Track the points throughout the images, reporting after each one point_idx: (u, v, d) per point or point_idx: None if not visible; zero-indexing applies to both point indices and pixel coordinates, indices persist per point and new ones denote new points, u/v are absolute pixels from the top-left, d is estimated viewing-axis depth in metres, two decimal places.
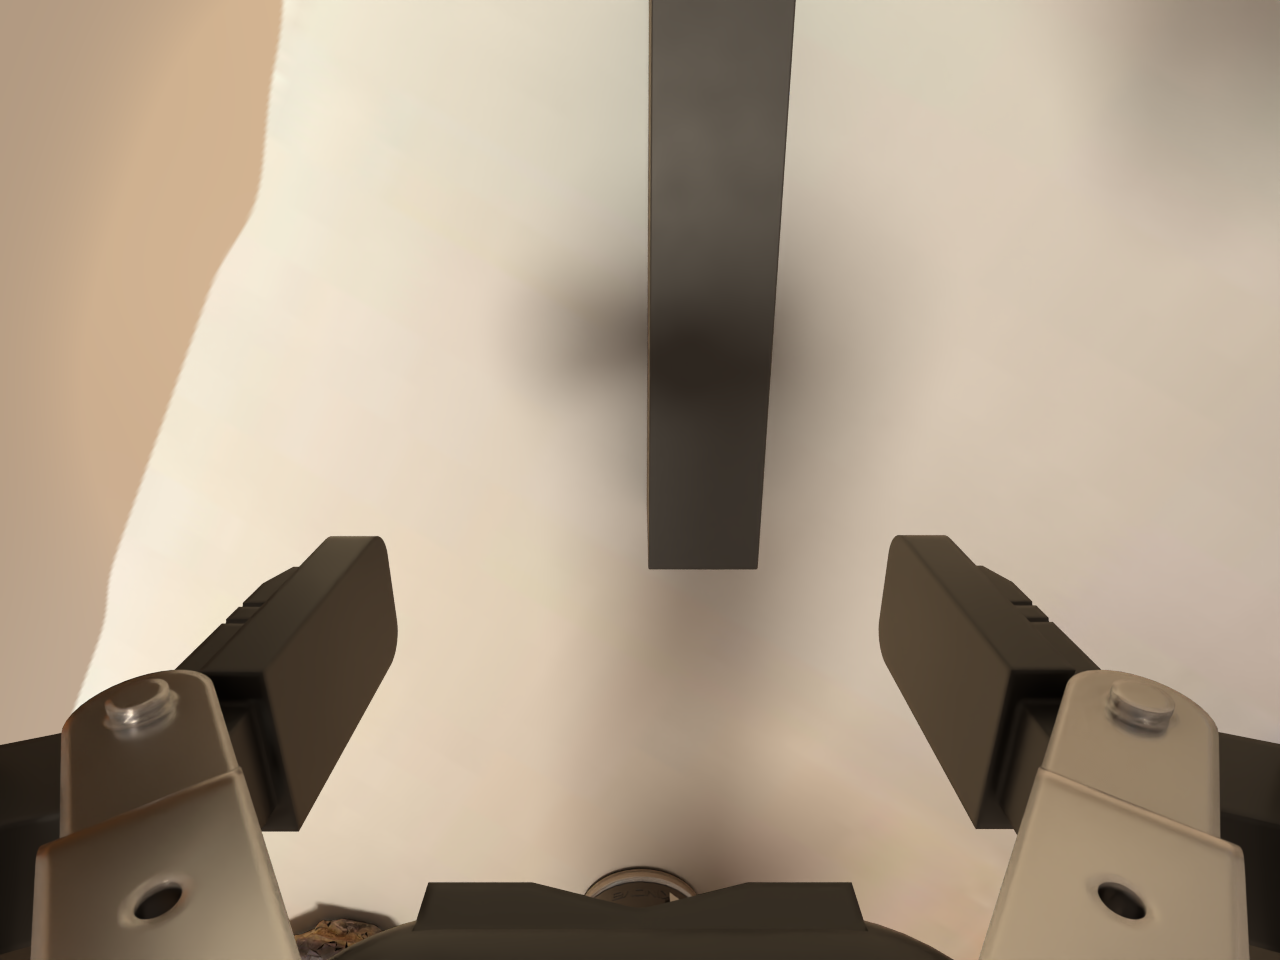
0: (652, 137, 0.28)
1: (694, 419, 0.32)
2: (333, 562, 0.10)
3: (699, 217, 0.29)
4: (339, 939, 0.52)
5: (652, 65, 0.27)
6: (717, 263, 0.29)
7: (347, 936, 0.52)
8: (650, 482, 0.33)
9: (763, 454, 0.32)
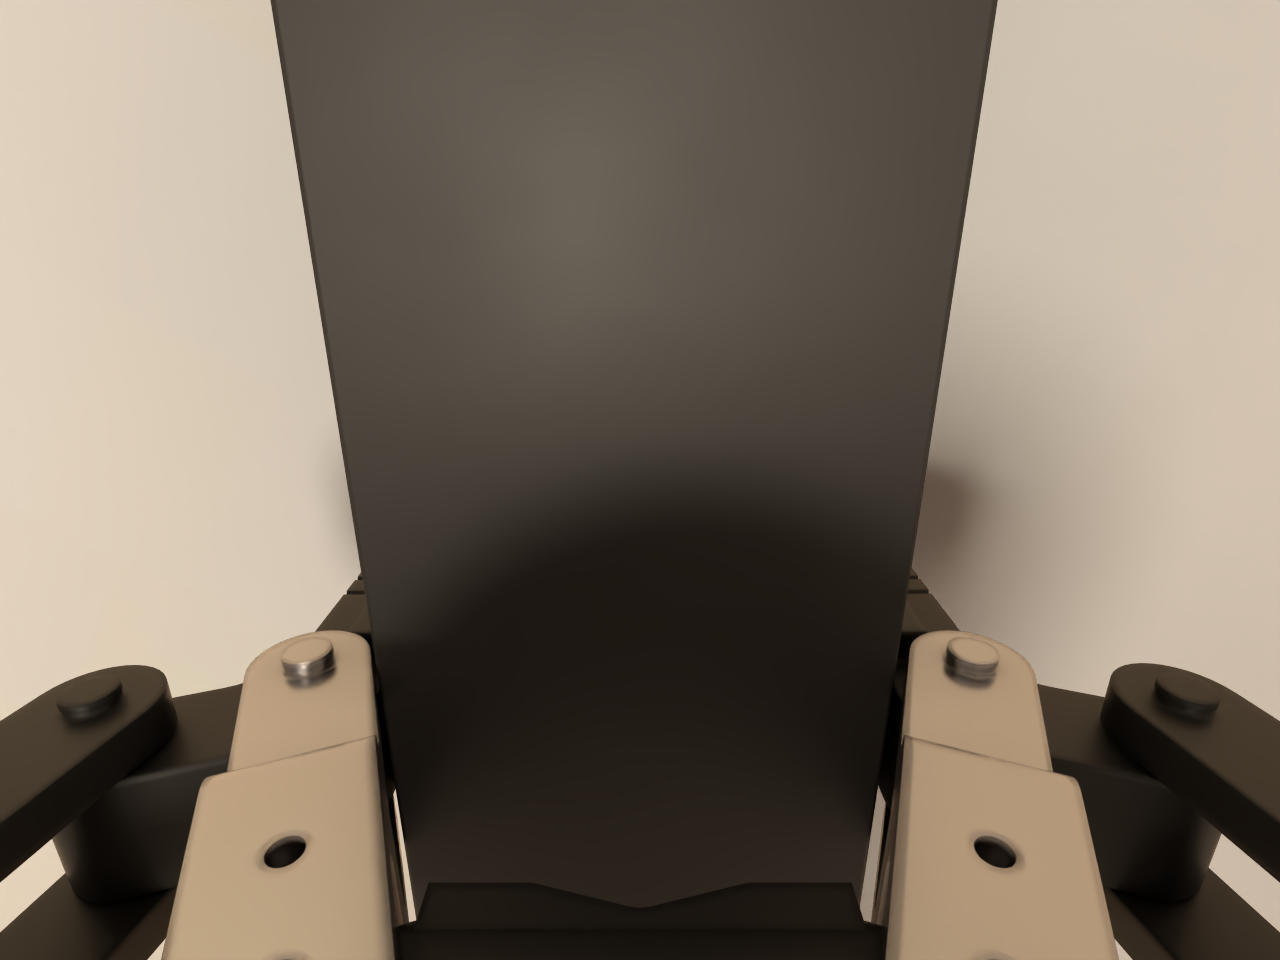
0: None
1: (558, 349, 0.06)
2: None
3: None
4: None
5: None
6: None
7: None
8: (378, 652, 0.07)
9: (910, 527, 0.07)
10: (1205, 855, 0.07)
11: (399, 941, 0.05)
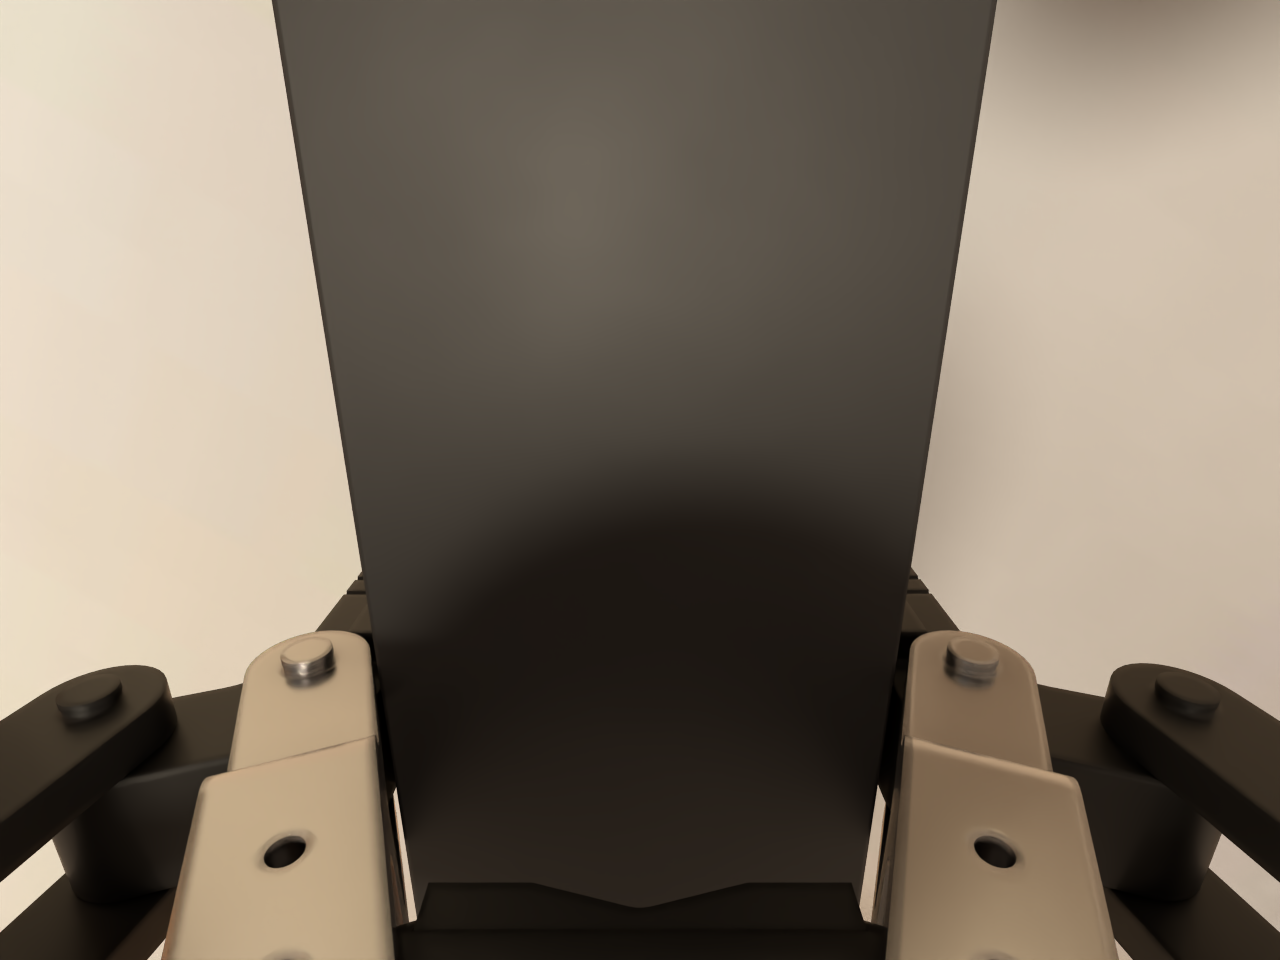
0: None
1: (558, 347, 0.06)
2: None
3: None
4: None
5: None
6: None
7: None
8: (379, 650, 0.07)
9: (910, 525, 0.07)
10: (1206, 855, 0.07)
11: (399, 941, 0.05)
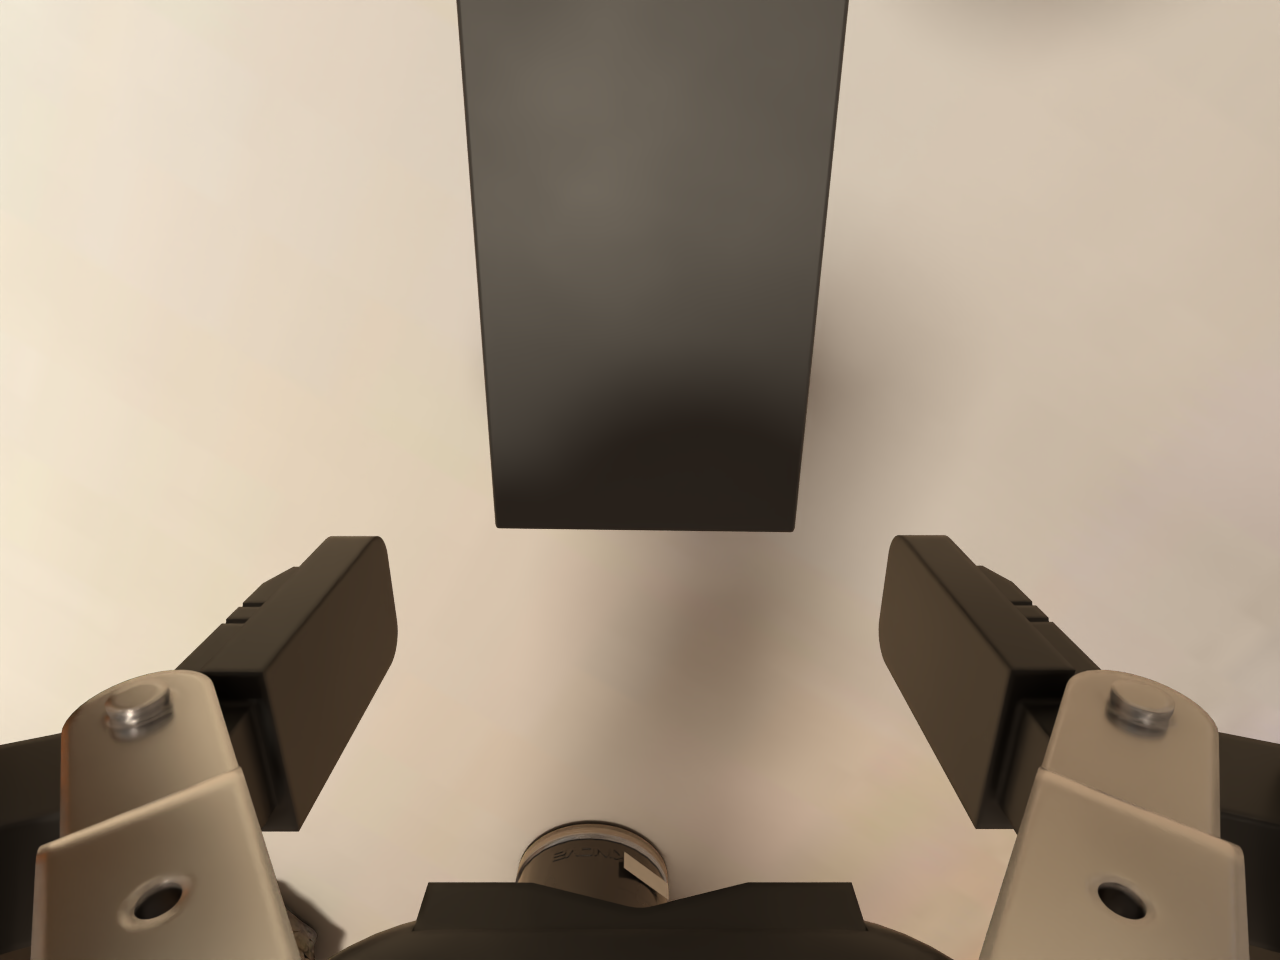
0: None
1: (603, 32, 0.10)
2: (332, 562, 0.10)
3: None
4: None
5: None
6: None
7: None
8: (479, 262, 0.11)
9: (826, 168, 0.10)
10: None
11: None
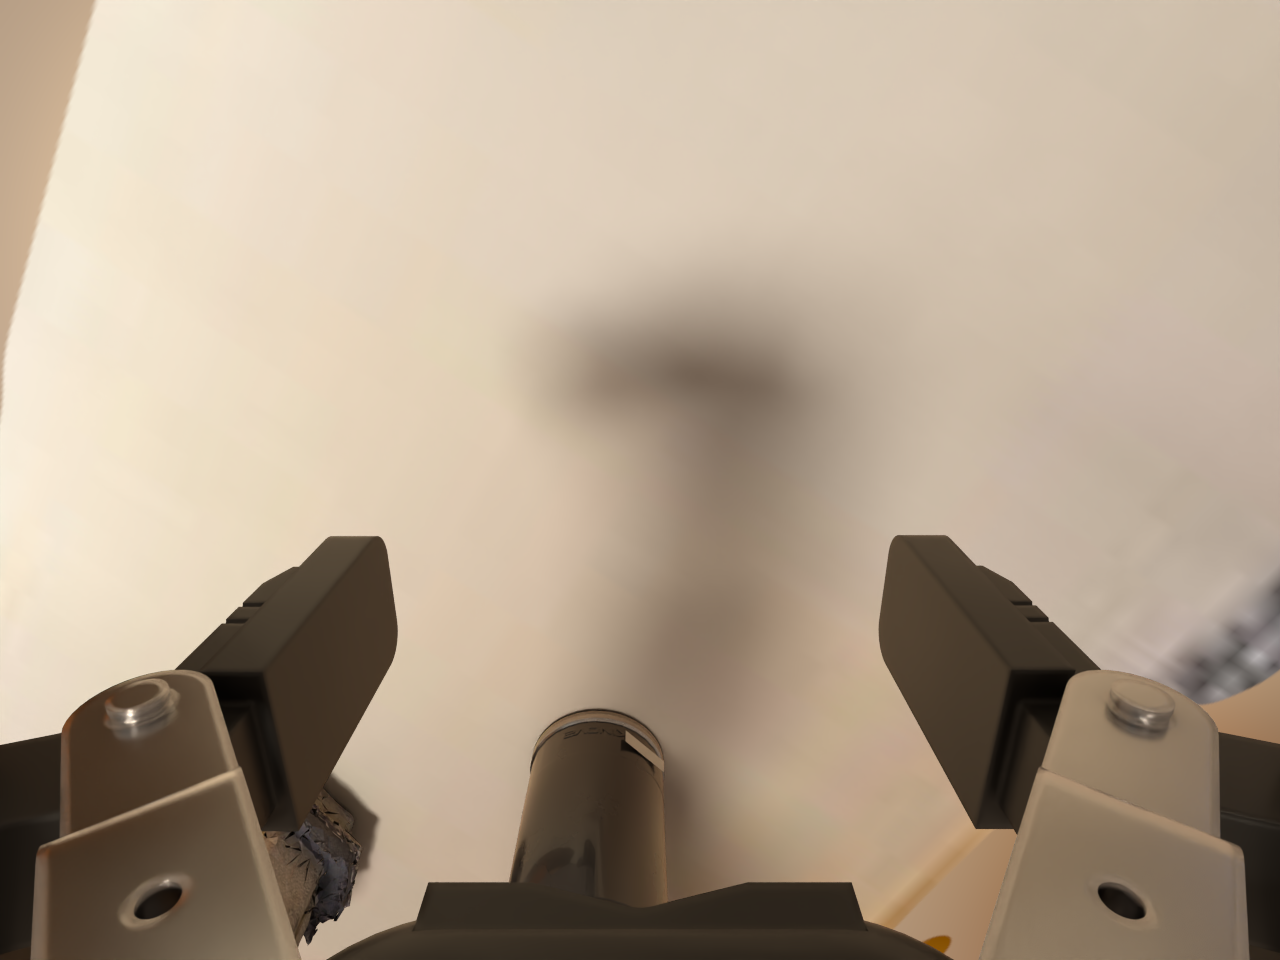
0: None
1: None
2: (333, 562, 0.10)
3: None
4: None
5: None
6: None
7: None
8: None
9: None
10: None
11: None
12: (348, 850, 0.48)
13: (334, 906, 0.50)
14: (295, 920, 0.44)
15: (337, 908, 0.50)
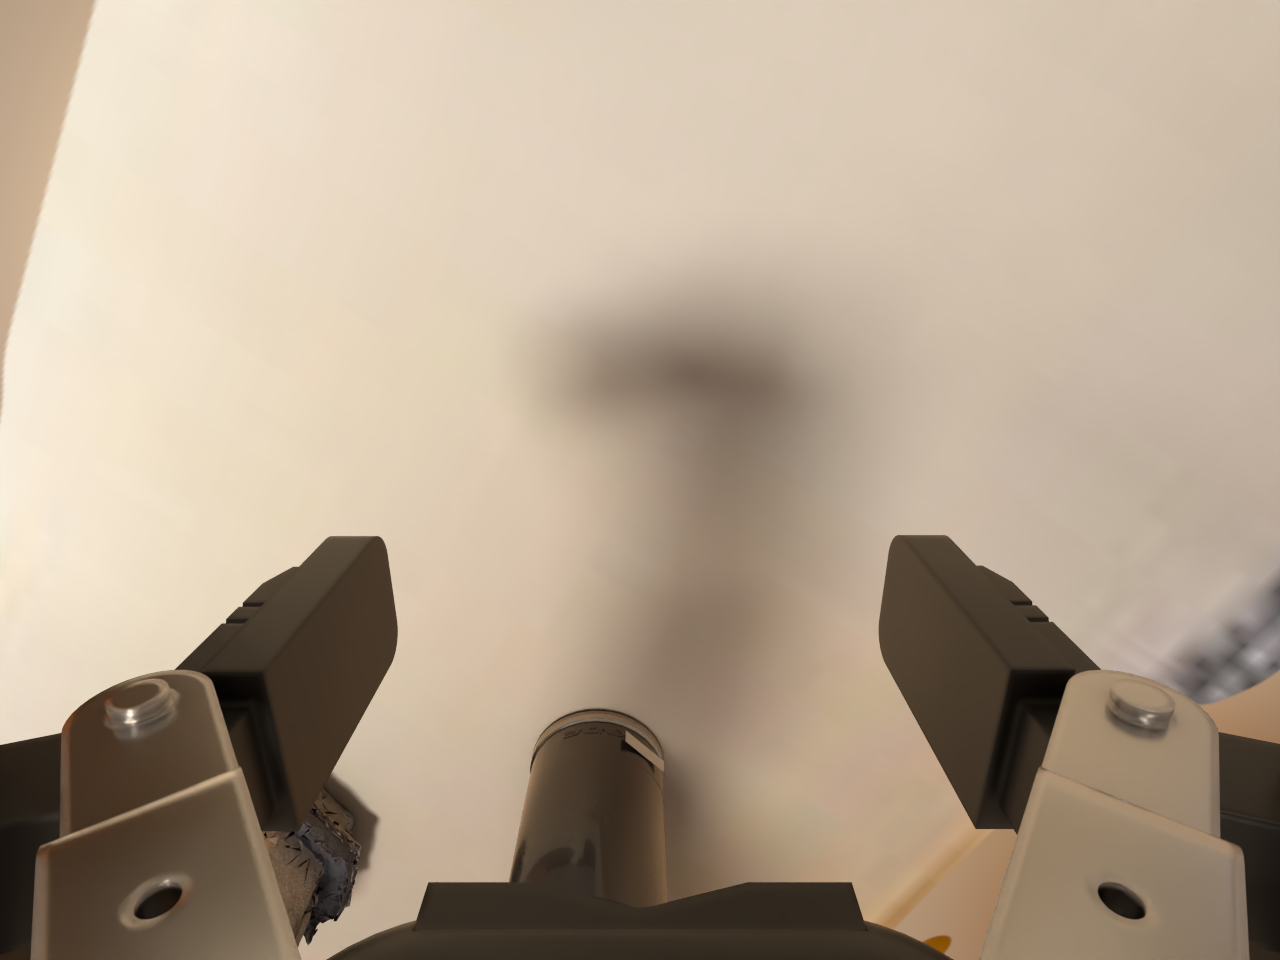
0: None
1: None
2: (333, 562, 0.10)
3: None
4: None
5: None
6: None
7: None
8: None
9: None
10: None
11: None
12: (348, 850, 0.48)
13: (334, 906, 0.50)
14: (295, 920, 0.44)
15: (337, 908, 0.50)
